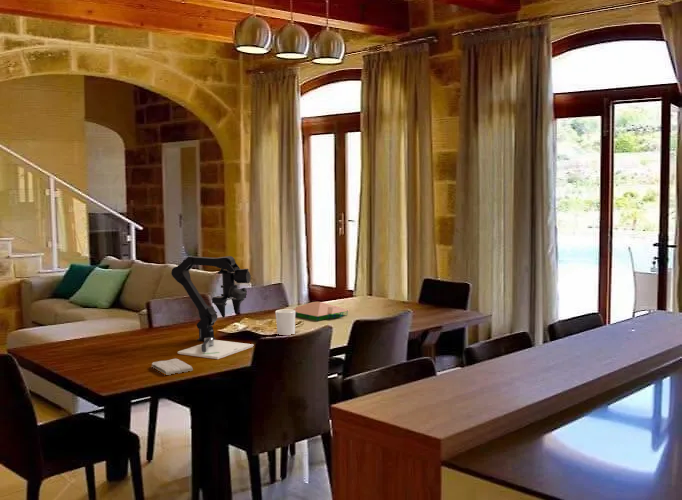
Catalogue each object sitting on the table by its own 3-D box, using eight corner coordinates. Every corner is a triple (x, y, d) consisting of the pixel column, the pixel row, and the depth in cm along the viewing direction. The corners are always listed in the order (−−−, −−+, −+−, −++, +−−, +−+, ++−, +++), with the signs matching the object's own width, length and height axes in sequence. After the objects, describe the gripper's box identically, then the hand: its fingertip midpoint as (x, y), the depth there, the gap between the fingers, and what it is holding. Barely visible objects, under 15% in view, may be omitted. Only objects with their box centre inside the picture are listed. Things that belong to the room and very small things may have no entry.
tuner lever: (205, 344, 333) (204, 337, 333) (214, 344, 333) (213, 336, 333) (199, 353, 317) (198, 345, 317) (208, 353, 317) (208, 345, 317)
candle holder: (278, 338, 348) (277, 313, 347) (274, 333, 358) (273, 309, 356) (298, 336, 351) (297, 311, 350) (294, 332, 360) (293, 308, 359)
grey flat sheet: (177, 353, 323) (177, 351, 322) (214, 341, 344) (214, 339, 344) (217, 359, 311) (217, 356, 311) (253, 346, 332) (253, 344, 332)
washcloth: (176, 363, 307) (176, 356, 307) (194, 372, 293) (193, 364, 293) (149, 368, 301) (149, 361, 300) (166, 377, 286) (165, 369, 286)
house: (321, 323, 383) (320, 307, 382) (283, 315, 407) (283, 301, 407) (353, 316, 397) (353, 301, 397) (315, 309, 422) (315, 295, 421)
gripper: (228, 286, 331) (230, 320, 333) (254, 281, 347) (255, 313, 349) (210, 285, 337) (211, 318, 339) (236, 280, 353) (237, 311, 354)
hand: (230, 315), depth 345 cm, fingers open, 9 cm apart
